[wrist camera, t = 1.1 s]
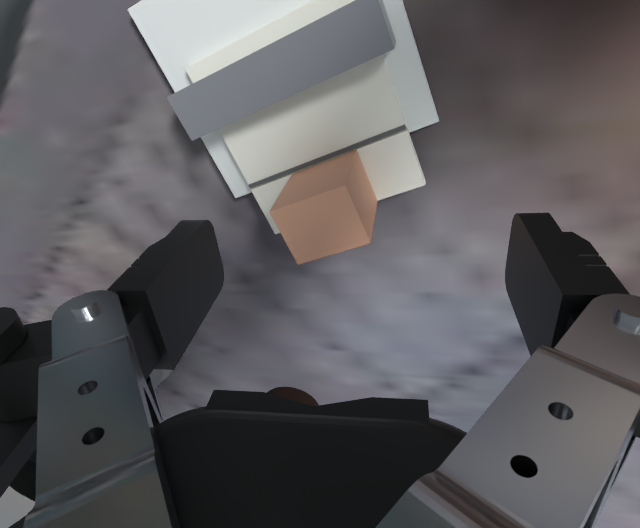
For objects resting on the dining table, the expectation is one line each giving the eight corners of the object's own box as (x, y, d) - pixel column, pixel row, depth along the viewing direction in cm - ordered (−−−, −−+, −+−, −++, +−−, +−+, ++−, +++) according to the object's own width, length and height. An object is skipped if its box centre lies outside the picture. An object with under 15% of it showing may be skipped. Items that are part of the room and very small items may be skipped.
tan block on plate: (407, 126, 29) (405, 163, 24) (425, 180, 31) (428, 226, 25) (253, 185, 33) (221, 228, 28) (277, 229, 35) (252, 278, 30)
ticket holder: (361, -134, 23) (352, -151, 20) (438, 117, 29) (441, 135, 26) (135, 8, 29) (99, 13, 26) (239, 193, 35) (221, 215, 32)
